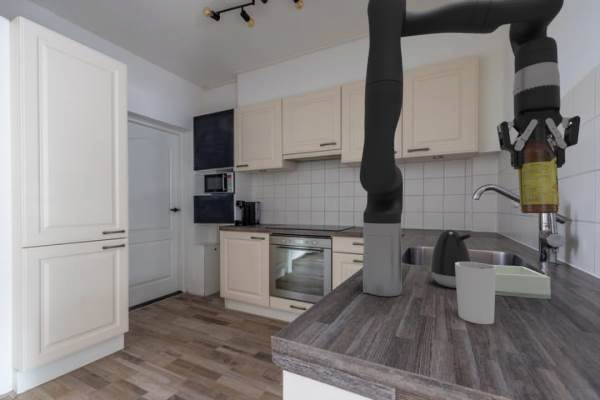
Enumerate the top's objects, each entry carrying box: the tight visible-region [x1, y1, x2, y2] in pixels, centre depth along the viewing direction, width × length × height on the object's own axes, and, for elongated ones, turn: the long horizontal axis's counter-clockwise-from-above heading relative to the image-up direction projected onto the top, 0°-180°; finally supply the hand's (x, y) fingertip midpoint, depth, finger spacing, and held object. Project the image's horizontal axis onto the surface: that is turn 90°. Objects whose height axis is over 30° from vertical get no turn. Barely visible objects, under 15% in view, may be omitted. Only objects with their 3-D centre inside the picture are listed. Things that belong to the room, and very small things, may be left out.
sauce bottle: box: [517, 119, 560, 215], centre depth 57 cm, size 6×6×20 cm
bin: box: [492, 264, 552, 300], centre depth 69 cm, size 12×12×5 cm
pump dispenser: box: [429, 228, 473, 289], centre depth 73 cm, size 10×10×15 cm
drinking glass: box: [455, 261, 496, 325], centre depth 52 cm, size 7×7×10 cm
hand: (537, 168), depth 57 cm, fingers closed on sauce bottle, 6 cm apart
